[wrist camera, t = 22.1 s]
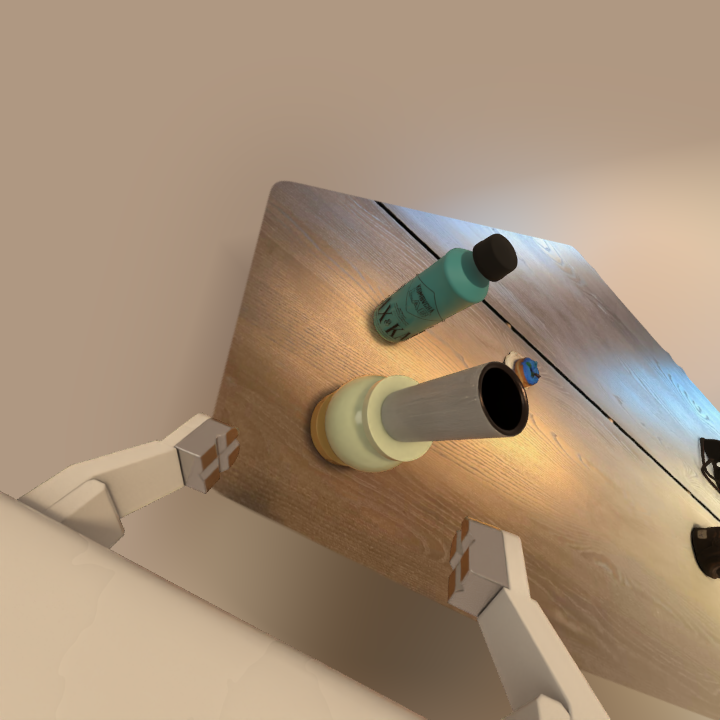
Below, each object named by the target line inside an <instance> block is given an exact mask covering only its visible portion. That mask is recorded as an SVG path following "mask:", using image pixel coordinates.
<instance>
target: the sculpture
mask: <svg viewBox="0 0 720 720" xmlns="http://www.w3.org/2000/svg"><path fill="white" fill-rule="evenodd" d="M692 538H693V544H694V549H695V553H696V557H697V560H698V562H699V565H700V566H701V568H702V570H703V571H704V572H705V574H706V575H707V576H709V577H711V578H714V579H716V578H720V527H708V528H694V531H693V534H692Z"/></svg>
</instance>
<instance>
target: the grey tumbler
mask: <svg viewBox="0 0 720 720" xmlns="http://www.w3.org/2000/svg"><path fill="white" fill-rule="evenodd" d="M528 414H529V406H528V399H527V395H526V392H525V389H524V386H523V384H522V382H521V380H520V379H519V377H518V376H517V374H516V373H515V372H514V371H513V370H512V369H511V368H510V367H508V366H507V365H505V364H503V363H501V362H495V361H494V362H489V363H486V364H482V365H479V366H476V367H472V368H469V369H466V370H463V371H459V372H456V373H453V374H450V375H446V376H443V377H440V378H437V379H433V380H430V381H427V382H424V383H420V384H417V385H414V386H411V387H407V388H404V389H401V390H398V391H395V392H393V393H391V394H389V395H388V396H387V398H386V399H385V400H384V402H383V405H382V410H381V418H382V423H383V426H384V428H385V430H386V431H387V433H388V434H389V435H390V436H391V437H392V438H393V439H395V440H397V441H399V442H425V441H444V440H463V439H481V438H500V437H513V436H516V435H518V434H519V433H521V432H522V431H523V429H524V428H525V426H526V423H527V420H528Z"/></svg>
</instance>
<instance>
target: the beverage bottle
mask: <svg viewBox="0 0 720 720" xmlns="http://www.w3.org/2000/svg"><path fill="white" fill-rule="evenodd" d="M516 267H517V255H516V252H515V250H514V248H513V246H512V245H511V243H510V242H509V241H508V240H507V239H506V238H505V237H504V236H502V235H500V234H493V235H491V236H489V237H488V238H486V239H485V240H483V241H480V242H479V243H478V244H476V245H475V246H474V248H473V252H472V251H469V250H466V249H461V248H454V249H452V250H450V251H449V252H448V253H447V254H446V255H445V256H443V257H442V258H441V259H439V260H438V261H437V262H435V263H434V264H433V265H431V266H430V267H429V268H427V269H426V270H425V271H423V272H422V273H420V274H416V277H415V278H413V279H412V280H409V282H408V283H407V284H406V283H405V284H406V285H403V287H402V286H401V287H400V289H397V290H398V291H397V292H395V293H394V292H393V293H394V294H393V295H391V296H390V295H389V296H390V297H389V298H387V299H386V298H385V299H386V300H385V301H382V303H381V304H380V305H377V306H378V307H377V308H376V309H375V312H374V316H373V321H374V326H375V328H376V330H377V332H378V333H379V335H380V336H381V337H382V338H384V339H385V340H387V341H389V342H395V343H397V342H400V343H401V341H405V340H407V339H409V338H411V337H413V336H415V335H417V334H420V333H421V332H423V330H424V331H425V329H427V328H429V327H430V328H432V327H431V326H433V325H435V324H438V323H439V322H441V321H442V322H443V320H444V321H445V319H446V318H448V317H450V316H452V315H454V314H456V313H458V312H460V311H462V310H464V309H466V308H468V307H470V306H472V305H473V304H476V303H479V302H481V301H482V300H483V299H484V298H485V296H486V295H487V292H488V287H489V281H492V282H496V281H499V280H500V279H502V278H503V277H504V276H506V275H507V274H509V273H510V272H512V271H513V270H514V269H515V268H516ZM435 326H436V325H435ZM433 327H434V326H433Z"/></svg>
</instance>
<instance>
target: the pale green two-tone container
mask: <svg viewBox="0 0 720 720" xmlns="http://www.w3.org/2000/svg"><path fill="white" fill-rule="evenodd" d="M417 384H419V383H418V382H417V381H415V380H414V379H412V378H410V377H407V376H402V375H393V376H389V377H386V376H382V375H376V374H369V375H362V376H359V377H355V378H353V379H351V380H349V381H347V382H346V383H344V384H343V385H342V386H341V387H340V388H338V390H337V391H335V392H332V393H330V394H328V395H327V396H325V397H324V398H323V399H322V400H321V401H320V402H319V403H318V404H317V406H316V407H315V409H314V412H313V414H312V418H311V426H310V429H311V437H312V440H313V443H314V445H315V447H316V449H317V451H318V452H319V453H320V454H321V456H322V457H324V458H325V459H326V460H327V461H329V462H331V463H333V464H336V465H341V466H349V467H351V468H353V469H355V470H358V471H361V472H366V473H381V472H385V471H388V470H391V469H394V468H395V467H397V466H399V465H400V464H402V463H403V462H404V461H413V460H416V459H418V458H419V457H421V456H422V455H424V454H425V453H426V452H427V451H428V449H429V448H430V446H431V444H432V442H433V441H425V442H399V441H397V440H395V439H393V438H392V437H391V436H390V435H389V434H388V433H387V431H386V430H385V428H384V426H383V423H382V418H381V410H382V405H383V402H384V400H385V399H386V398H387V396H388V395H389V394H391V393H393V392H395V391H398V390H401V389H404V388H407V387H411V386H414V385H417Z"/></svg>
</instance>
